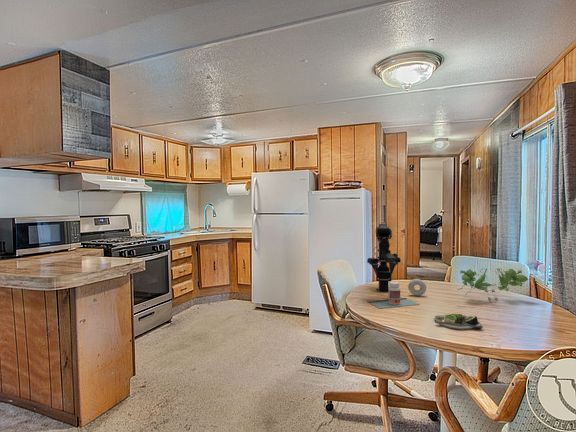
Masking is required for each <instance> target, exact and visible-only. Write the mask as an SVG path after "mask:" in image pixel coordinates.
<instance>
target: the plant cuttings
mask: <svg viewBox="0 0 576 432" xmlns="http://www.w3.org/2000/svg"><path fill="white" fill-rule="evenodd" d="M483 270H484V272H482V271H483ZM501 270H502V271H501ZM479 271H480V273H482V275H480V274H479V273H477V272H476V271H473V270H472V269H470V268H469V269H467V270H460V271H459V273H460V274H463V275H461V280H462V285H463V286H462V287H461V288H456V290H458V291H459V290H462V289H463V287H464V286H465V287H466V286H467V287H468V284H469V286H470V288H471V290H469V291H468V292H466V293H465V296H466V295H467V294H468V293H470V292H471V291H472V290H473V289H477V290H480V291H484V292H485V293H486V295H487V298H488V299H487V300H488V301H489V302H491V301H492V297H491V296H490V295H489V294H490V293H489V290H488V287H493V286H497V284H493V283H492V284H491V283H490V282H489V283H488V282H487V281H486V278H488V277H487V275H486V273H487V271H488V268H481V269H480V270H479ZM496 271H497V272H498V273H497V275H498V279H499V283H498V285H499V286H497V287H498V290H499V291H498V292H496V290H495V288H491V289H490V292H491V293H493V294H492V295H493V300H494V303H496V302H498V301H499V299H498V297H497V296H496V294H498V293H500V292H501V291H502V290H505V292H506V293H508V292H509V290H510V289H509V288H510V286H514V287H516V286H517V287H518V286H519V287H523V284H524V283H525V282H527V281H528V280H529V278H528V277H527V276H526V275H524V274H523V271H522V270H521V269H519V270H518V271H517V272H516V271H515V270H514V269H513V268H509V269H506V270H503V268H496ZM499 273H500V274H499ZM475 276H479V278H478V279H476V277H475ZM474 281H475V283H474ZM495 292H496V293H495Z"/></svg>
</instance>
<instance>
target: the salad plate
mask: <svg viewBox="0 0 576 432" xmlns="http://www.w3.org/2000/svg"><path fill="white" fill-rule="evenodd" d="M433 319H434V321H435V322H434V323H435V324H438V325H441V327H442V326H443V327H446V328H450V329H454V330H463V331H464V330H478V329H480V328H484V326H483V325H482V323H481V322H479V320H478V317H477V316H476V315H473V316H467V315H463V314H462V313H450V314H440V315H439V314H438V315H434V318H433Z"/></svg>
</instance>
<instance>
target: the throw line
mask: <svg viewBox="0 0 576 432" xmlns="http://www.w3.org/2000/svg"><path fill="white" fill-rule="evenodd" d="M405 299H408V298H407V297H400V300H405ZM384 301H389V300H388V298H387V299H378V300H368V301H367V303H369V304H370V303H374V302H384Z"/></svg>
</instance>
